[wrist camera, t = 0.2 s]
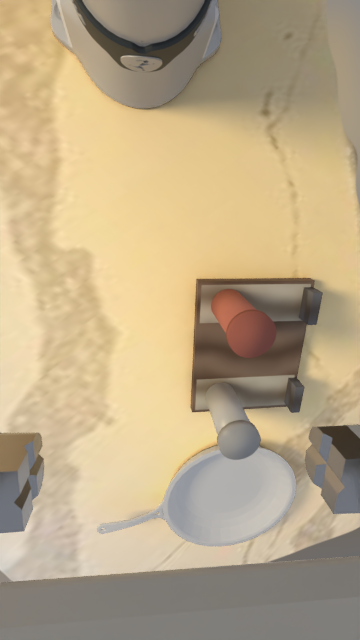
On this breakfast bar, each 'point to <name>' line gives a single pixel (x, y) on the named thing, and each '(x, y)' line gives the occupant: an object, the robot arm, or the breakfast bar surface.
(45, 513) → the breakfast bar surface
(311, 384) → the breakfast bar surface
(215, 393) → the grey plug
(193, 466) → the pan
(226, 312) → the red plug
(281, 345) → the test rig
